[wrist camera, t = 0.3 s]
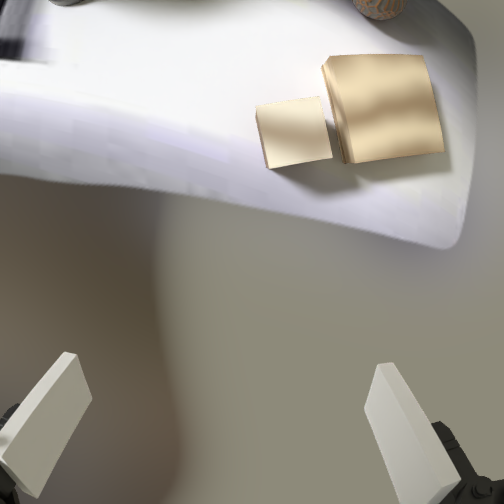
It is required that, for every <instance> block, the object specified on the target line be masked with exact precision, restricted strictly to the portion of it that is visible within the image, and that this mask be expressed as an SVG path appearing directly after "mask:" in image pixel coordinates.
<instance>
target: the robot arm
mask: <svg viewBox="0 0 504 504" xmlns="http://www.w3.org/2000/svg"><path fill="white" fill-rule="evenodd" d="M49 1H50V2H52V3H53V4H55V5H59V6H66V5H71V4H75V3H78V2H80V1H83V0H49ZM91 400H92V397H91V394H90V391H89V389H88V386H87V383H86V380H85V377H84V374H83V372H82V369H81V366H80V363H79V360H78V356H77V354H72V353H67V352H64V353H63V354H62V355H61V356H60V357H59V358H58V360H57V361H56V362H55V363H54V364H53V366H52V367H51V368H50V369H49V370H48V372H47V373H46V374H45V375H44V376H43V377H42V379H41V380H40V381H39V382H38V384H37V385H36V386H35V387H34V388H33V390H32V391H31V392H30V393H29V395H28V396H27V397H26V398H25V400H24V401H23V402H22V403H21V404H18V403H17V404H15V405H14V406H12V407H11V408H9V409H8V410H7V412H6V413H5V414H4V415H3V418H1V419H0V504H20V503H19V499H18V494H17V492H16V490H15V488H14V487H15V485H16V484H17V485H18V486H19V487H20V488H21V489H22V490H23V491H24V492H25V493H27V494H29V495H31V496H33V497H35V498H38V497H39V495H40V493H41V491H42V489H43V487H44V485H45V483H46V481H47V479H48V477H49V475H50V473H51V472H52V470H53V468H54V466H55V464H56V462H57V460H58V458H59V456H60V454H61V453H62V451H63V449H64V447H65V446H66V444H67V442H68V440H69V438H70V437H71V435H72V433H73V431H74V430H75V428H76V426H77V424H78V422H79V421H80V419H81V417H82V416H83V414H84V412H85V410H86V409H87V407H88V405H89V404H90V402H91ZM364 410H365V413H366V415H367V418H368V420H369V423H370V425H371V428H372V430H373V433H374V436H375V438H376V440H377V443H378V446H379V448H380V451H381V454H382V456H383V459H384V461H385V464H386V467H387V469H388V472H389V474H390V477H391V480H392V483H393V486H394V488H395V491H396V494H397V497H398V499H399V502H400V504H504V479H503V480H497V481H491V480H490V479H489V478H487V477H485V476H478V475H477V473H476V472H475V470H474V469H473V467H472V465H471V463H470V462H469V460H468V458H467V457H466V455H465V453H464V451H463V450H462V449H461V447H460V445H459V443H458V441H457V440H455V437H454V435H453V434H452V432H451V430H450V429H449V428H448V427H447V426H445V425H444V424H443V423H442V422H441V421H439V422H435V423H431V424H430V422H429V420H428V419H427V417H426V415H425V413H424V412H423V410H422V408H421V407H420V405H419V404H418V402H417V400H416V398H415V397H414V395H413V394H412V392H411V390H410V389H409V387H408V386H407V384H406V382H405V381H404V379H403V377H402V376H401V374H400V373H399V371H398V369H397V368H396V367H395V365H394V363H393V362H391V363H382V364H377V367H376V370H375V374H374V378H373V381H372V385H371V388H370V391H369V395H368V398H367V401H366V404H365V407H364Z"/></svg>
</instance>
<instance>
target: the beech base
mask: <svg viewBox="0 0 504 504" xmlns="http://www.w3.org/2000/svg"><path fill="white" fill-rule="evenodd" d="M321 71H322V74H323V78H324V82H325V86H326V89H327V93H328V97H329V101H330V105H331V110H332V114H333V118H334V123H335V127H336V132H337V136H338V141H339V146H340V151H341V156H342V161H343V163H344V164H346V163H361V162H368V161H374V160H381V159H389V158H396V157H404V156H412V155H421V154H430V153H439V152H445V149H444V143H443V137H442V131H441V126H440V121H439V116H438V111H437V107H436V102H435V98H434V94H433V90H432V86H431V82H430V79H429V75H428V72H427V68H426V65H425V62H424V58H423V55H403V54H360V55H339V56H330V57H329V58H328V59H327V61H326V62H325V63H324V65H322V66H321Z"/></svg>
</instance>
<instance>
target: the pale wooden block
mask: <svg viewBox="0 0 504 504" xmlns="http://www.w3.org/2000/svg"><path fill="white" fill-rule="evenodd" d="M256 122H257V127H258V131H259V136H260V140H261V145H262V149H263V154H264V159H265V163H266V168H269V169H272V168H277V167H282V166H287V165H293V164H298V163H304V162H310V161H315V160H321V159H328V158H333V156H332V151H331V146H330V141H329V136H328V132H327V127H326V122H325V118H324V114H323V109H322V105H321V101H320V97H319V96H317V97H309V98H302V99H295V100H288V101H282V102H276V103H270V104H265V105H259V106H256Z"/></svg>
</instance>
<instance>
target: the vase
mask: <svg viewBox="0 0 504 504" xmlns="http://www.w3.org/2000/svg"><path fill="white" fill-rule="evenodd" d="M352 1H353V3H354V5H355V7H356V8H357V9H358V10H359V11H360V12H361V13H362V14H364V15H365V16H367V17H369V18H372V19H376V20H387V19H391V18H394V17H396V16H397V15H398V14H400V13H401V12H402V11H403V9H404V8H405V6H406V3H407V0H352Z"/></svg>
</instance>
